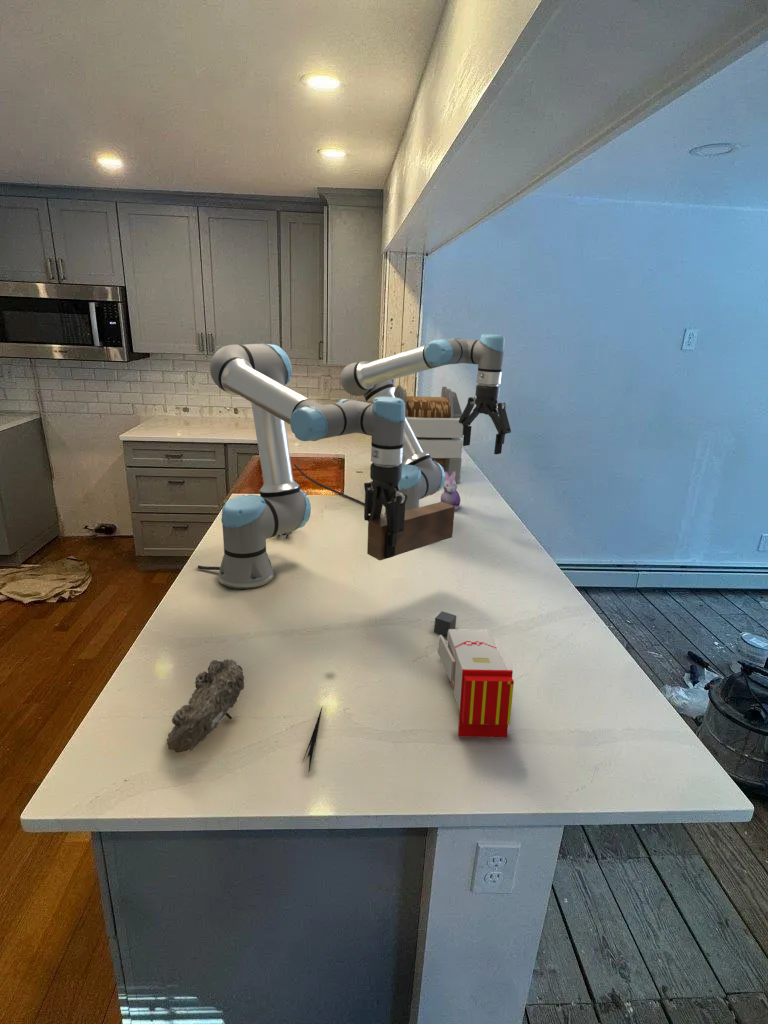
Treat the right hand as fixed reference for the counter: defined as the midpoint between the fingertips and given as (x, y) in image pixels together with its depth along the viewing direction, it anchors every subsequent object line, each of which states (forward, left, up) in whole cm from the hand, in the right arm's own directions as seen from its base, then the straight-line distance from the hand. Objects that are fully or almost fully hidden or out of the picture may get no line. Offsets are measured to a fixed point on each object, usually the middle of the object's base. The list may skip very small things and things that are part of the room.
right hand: (481, 449), depth 189 cm
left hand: (+20, -60, -15) cm, 65 cm away
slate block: (+37, -53, -32) cm, 72 cm away
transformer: (-70, +42, -32) cm, 87 cm away
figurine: (-26, +16, -32) cm, 44 cm away
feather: (+45, -96, -32) cm, 110 cm away
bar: (+20, -50, -15) cm, 56 cm away
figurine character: (-40, -52, -32) cm, 73 cm away
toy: (+57, -66, -32) cm, 93 cm away
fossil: (+32, -111, -32) cm, 120 cm away
